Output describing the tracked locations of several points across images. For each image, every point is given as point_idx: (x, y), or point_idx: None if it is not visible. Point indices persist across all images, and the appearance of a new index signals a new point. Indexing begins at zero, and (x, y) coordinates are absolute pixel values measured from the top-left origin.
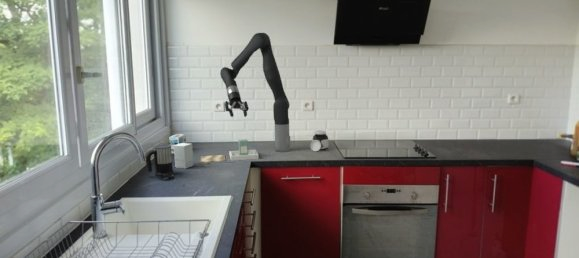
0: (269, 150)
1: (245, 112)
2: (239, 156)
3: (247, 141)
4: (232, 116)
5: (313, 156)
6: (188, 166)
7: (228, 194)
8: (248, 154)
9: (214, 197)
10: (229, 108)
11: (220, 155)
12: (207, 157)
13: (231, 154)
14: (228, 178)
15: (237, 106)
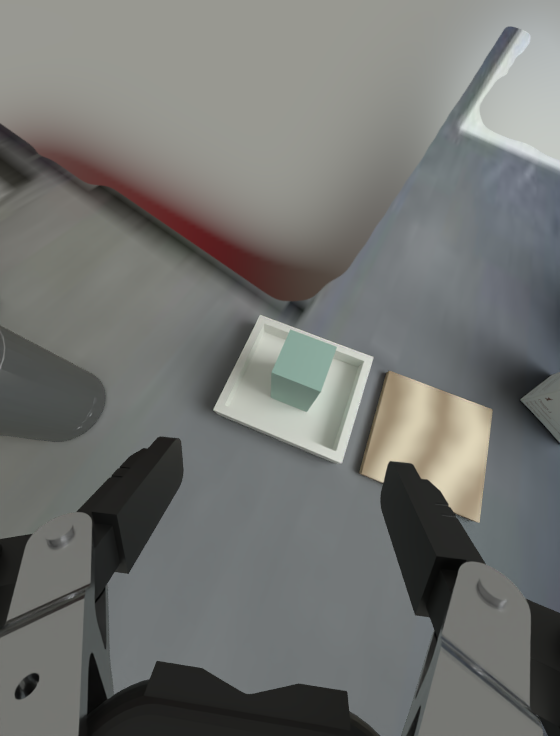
0: (112, 447)
1: (141, 468)
2: (337, 344)
3: (292, 331)
4: (389, 484)
5: (73, 248)
6: (544, 381)
7: (463, 135)
8: (255, 415)
9: (493, 136)
10: (544, 664)
11: (383, 472)
12: (451, 472)
13: (357, 389)
14: (434, 211)
15: (240, 708)
